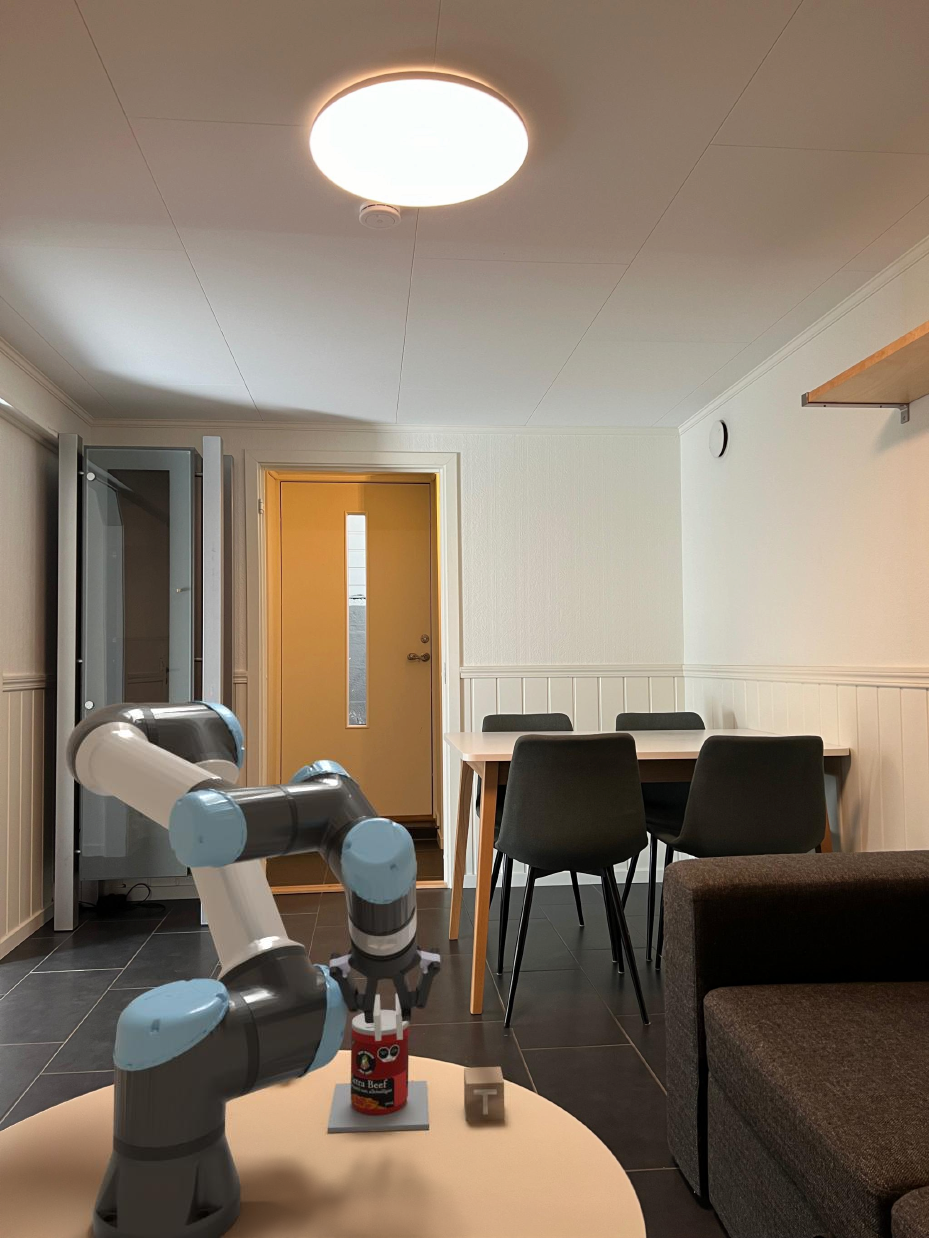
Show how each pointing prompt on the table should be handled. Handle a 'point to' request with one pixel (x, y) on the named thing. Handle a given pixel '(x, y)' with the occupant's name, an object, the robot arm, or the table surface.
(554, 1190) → the table surface
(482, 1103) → the letter cube
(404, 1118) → the mat
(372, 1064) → the canned food
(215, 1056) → the robot arm
